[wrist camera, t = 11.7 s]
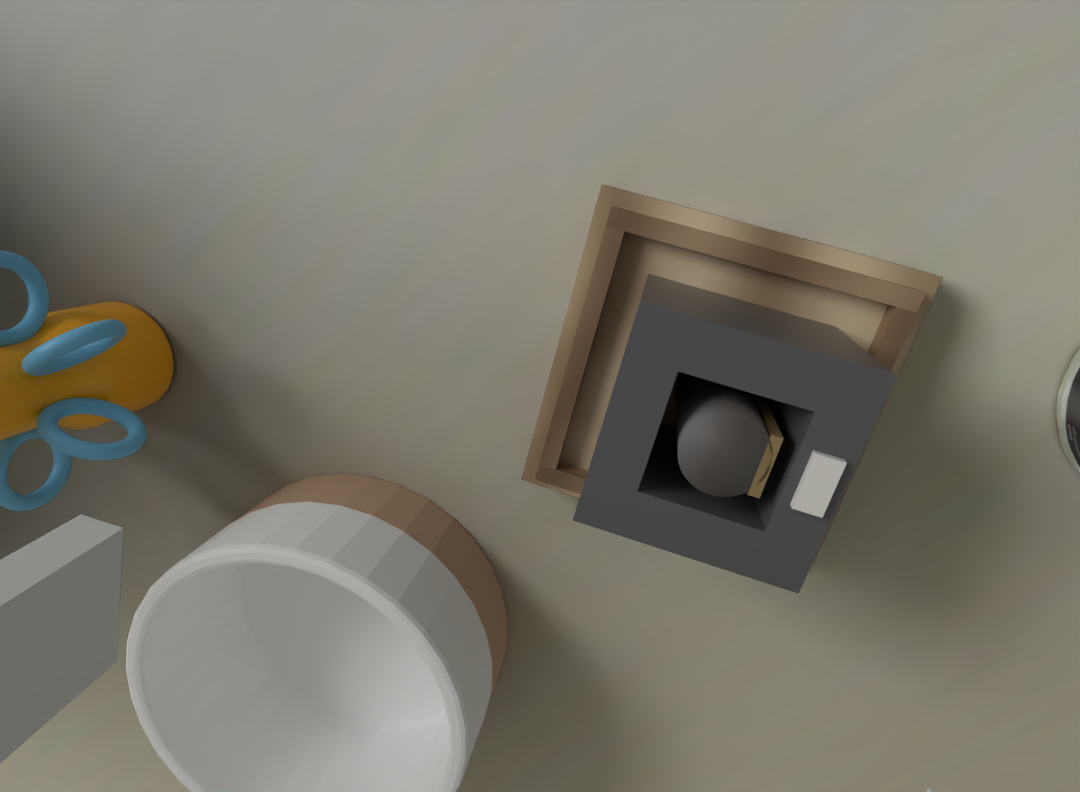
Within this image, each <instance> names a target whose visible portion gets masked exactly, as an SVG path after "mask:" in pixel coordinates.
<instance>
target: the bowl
mask: <svg viewBox="0 0 1080 792" xmlns="http://www.w3.org/2000/svg"><path fill="white" fill-rule="evenodd" d="M507 643H508V617H507V612H506V607H505V602H504V596H503V592H502V589H501V587H500V584H499V582H498V580H497V577H496V575H495V572H494V570H493V568H492V565H491V564H490V562H489V561H488V559H487V558H486V556H485V555H484V553H483V552H482V550H481V549H480V547H479V545H478V544H477V542H476V541H475V540H474V539H473V538H472V537H471V536H470V534H469V533H468V532H467V531H466V530H465V529H464V528H463V527H462V526H461V525H460V524H459V523H458V522H457V521H456V520H455V519H454V518H453V517H452V516H451V515H449V514H448V513H446V512H445V511H444V510H442V509H441V508H440V507H438V506H437V505H436V504H434V503H433V502H432V501H430V500H429V499H427V498H425V497H423V496H421V495H419V494H417V493H415V492H413V491H411V490H409V489H407V488H405V487H404V486H401V485H398V484H395V483H392V482H388V481H385V480H382V479H379V478H375V477H371V476H362V475H353V474H344V473H343V474H332V475H320V476H313V477H310V478H307V479H303V480H300V481H297V482H294V483H290V484H288V485H287V486H285V487H283V488H281V489H280V490H278V491H276V492H275V493H273V494H271V495H269V496H268V497H266V498H265V499H264V500H262V501H261V502H260V503H258V504H257V505H256V506H254V507H253V508H252V509H250V510H249V511H248V512H246V513H245V514H244V515H242V516H241V517H240V518H238V519H237V520H235V521H234V522H233V523H231V524H229V525H227V526H226V527H225V528H223V529H222V530H221V531H219V532H218V533H217V534H215V535H214V536H213V537H211V538H210V539H209V540H207V541H206V542H205V543H203V544H202V545H201V546H199V547H198V548H196V549H195V550H194V551H192V552H191V553H190V554H188V555H187V556H186V557H184V558H183V559H182V560H180V561H179V562H178V563H176V564H175V565H174V566H172V567H171V568H170V569H169V570H168V571H167V572H166V573H164V574H163V575H162V576H161V577H160V578H159V579H158V580H157V581H156V582H155V583H154V584H153V585H152V586H151V587H150V588H149V590H148V592H147V594H146V595H145V597H144V599H143V601H142V602H141V604H140V606H139V607H138V609H137V611H136V613H135V614H134V617H133V621H132V624H131V628H130V632H129V635H128V639H127V652H126V673H127V678H128V684H129V690H130V695H131V699H132V702H133V705H134V707H135V710H136V713H137V715H138V718H139V721H140V723H141V726H142V728H143V730H144V731H145V733H146V735H147V737H148V738H149V740H150V742H151V744H152V745H153V747H154V749H155V751H156V752H157V754H158V755H159V756H160V758H161V759H162V760H163V761H164V763H165V764H166V765H167V766H168V768H169V769H170V770H171V772H172V773H173V774H174V775H175V777H176V778H177V779H178V780H179V781H180V782H181V783H182V784H183V785H184V786H185V787H186V788H188V789H189V790H190V791H191V792H456V791H457V790H458V788H459V786H460V784H461V782H462V779H463V777H464V774H465V771H466V768H467V765H468V763H469V760H470V757H471V754H472V752H473V749H474V746H475V743H476V740H477V738H478V735H479V732H480V729H481V726H482V724H483V721H484V718H485V715H486V711H487V707H488V705H489V702H490V699H491V696H492V694H493V691H494V688H495V685H496V682H497V680H498V677H499V674H500V671H501V668H502V664H503V661H504V657H505V653H506V649H507Z"/></svg>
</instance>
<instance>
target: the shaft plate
mask: <svg viewBox="0 0 1080 792" xmlns="http://www.w3.org/2000/svg"><path fill="white" fill-rule="evenodd" d="M648 274H652V275H655V276H659V277H662V278H666V279H669V280H673V281H676V282H680V283H683V284H687V285H690V286H694V287H697V288H701V289H705V290H708V291H712V292H715V293H719V294H722V295H726V296H729V297H733V298H736V299H740V300H743V301H747V302H750V303H754V304H758V305H761V306H765V307H768V308H772V309H775V310H779V311H782V312H786V313H789V314H793V315H796V316H800V317H803V318H807V319H811V320H814V321H818V322H821V323H825V324H828V325H832V326H835V327H837V328H838V329H839V330H841V331H842V332H843V333H844V334H846V335H847V336H848V337H849V338H851V339H852V340H853V341H854V342H856V343H857V344H858V345H859V346H861V347H862V348H863V349H864V350H866V351H867V352H868V353H869V354H871V355H872V356H873V357H874V358H876V359H877V360H878V361H879V362H881V363H882V364H883V365H885V366H886V367H887V368H888V369H890V370H891V371H892V372H893V373H895V374H896V375H897V376H896V379H897V377H898V375H899V373H900V370H901V368H902V366H903V364H904V362H905V359H906V357H907V355H908V353H909V351H910V348H911V346H912V344H913V342H914V339H915V337H916V335H917V333H918V331H919V328H920V326H921V324H922V322H923V320H924V317H925V315H926V313H927V311H928V308H929V306H930V304H931V302H932V300H933V297H934V295H935V293H936V291H937V289H938V286H939V284H940V282H941V280H942V278H943V277H941V276H937V275H934V274H931V273H927V272H924V271H920V270H917V269H913V268H909V267H905V266H902V265H898V264H894V263H891V262H887V261H883V260H880V259H876V258H872V257H869V256H865V255H861V254H858V253H854V252H850V251H846V250H843V249H839V248H835V247H832V246H828V245H824V244H821V243H817V242H813V241H810V240H806V239H802V238H798V237H795V236H791V235H787V234H784V233H780V232H776V231H773V230H769V229H765V228H762V227H758V226H754V225H751V224H747V223H743V222H739V221H736V220H732V219H728V218H725V217H721V216H717V215H714V214H710V213H706V212H703V211H699V210H695V209H691V208H688V207H684V206H680V205H677V204H673V203H669V202H666V201H662V200H658V199H655V198H651V197H647V196H644V195H640V194H636V193H632V192H629V191H625V190H621V189H618V188H614V187H610V186H607V185H601V189H600V193H599V196H598V200H597V204H596V208H595V211H594V215H593V219H592V222H591V226H590V230H589V233H588V237H587V241H586V244H585V248H584V252H583V255H582V259H581V263H580V266H579V270H578V274H577V277H576V281H575V285H574V288H573V292H572V296H571V299H570V303H569V307H568V310H567V314H566V318H565V321H564V325H563V329H562V332H561V336H560V340H559V343H558V347H557V351H556V355H555V358H554V362H553V366H552V369H551V373H550V377H549V380H548V384H547V388H546V391H545V395H544V399H543V402H542V406H541V410H540V413H539V417H538V421H537V424H536V428H535V432H534V435H533V439H532V443H531V446H530V450H529V454H528V457H527V461H526V465H525V468H524V472H523V476H522V479H521V480H524V481H527V482H531V483H534V484H537V485H540V486H543V487H546V488H549V489H552V490H556V491H559V492H562V493H565V494H568V495H571V496H574V497H577V498H580V495H581V492H582V489H583V485H584V482H585V479H586V476H587V472H588V469H589V466H590V462H591V459H592V456H593V453H594V449H595V446H596V443H597V439H598V436H599V433H600V430H601V426H602V423H603V420H604V417H605V413H606V410H607V407H608V404H609V400H610V397H611V394H612V391H613V387H614V384H615V381H616V378H617V374H618V371H619V368H620V365H621V361H622V358H623V355H624V352H625V348H626V345H627V342H628V339H629V335H630V332H631V329H632V325H633V322H634V319H635V316H636V312H637V309H638V306H639V303H640V299H641V296H642V293H643V290H644V286H645V283H646V280H647V277H648ZM896 379H895V381H896ZM895 381H894V383H893V385H892V387H891V390H892V388H893V386H894V384H895ZM891 390H890V392H889V394H888V396H887V399H888V397H889V395H890V393H891ZM887 399H886V401H887ZM886 401H885V403H884V405H883V407H882V410H883V408H884V406H885V404H886ZM882 410H881V412H882ZM881 412H880V414H879V416H878V418H877V421H878V419H879V417H880V415H881ZM877 421H876V423H877ZM661 423H664V424H667V425H671V426H674V427H677V447H678V462H679V466H680V469H681V471H682V473H683V475H684V476H685V478H686V479H687V480H688V481H689V483H691V484H692V485H693V486H694V487H695V488H697V489H698V490H700V491H702V492H704V493H706V494H709V495H713V496H718V497H732V496H737V495H741V494H744V493H746V492H747V495H750V496H753V497H756V498H759V499H760V496H761V494H762V491H763V489H764V486H765V484H766V481H767V479H768V476H769V474H770V471H771V469H772V467H773V464H774V462H775V459H776V457H777V454H778V452H779V449H780V447H781V444H782V442H783V439H784V438H783V436H782V434H781V432H780V429H779V427H778V425H777V423H776V421H775V419H774V416H773V414H772V412H771V410H770V408H769V406H768V404H767V401H766V399H765V397H763V396H759V395H756V394H753V393H749V392H746V391H742V390H739V389H736V388H732V387H729V386H726V385H722V384H719V383H715V382H712V381H709V380H705V379H702V378H699V377H695V376H692V375H688V374H685V373H682V372H678V373H677V376H676V379H675V382H674V385H673V388H672V391H671V394H670V397H669V400H668V403H667V405H666V408H665V411H664V414H663V417H662V420H661ZM876 423H875V425H874V427H873V430H874V428H875V426H876ZM873 430H872V432H873ZM872 432H871V434H870V436H869V438H868V441H869V439H870V437H871V435H872ZM868 441H867V443H868ZM867 443H866V445H865V447H864V449H863V452H864V450H865V448H866V446H867ZM863 452H862V454H863ZM862 454H861V456H860V458H859V460H858V463H859V461H860V459H861V457H862ZM858 463H857V465H858ZM857 465H856V467H855V469H854V472H855V470H856V468H857ZM854 472H853V474H854ZM853 474H852V476H851V478H850V480H849V483H850V481H851V479H852V477H853ZM849 483H848V485H849ZM848 485H847V487H846V489H845V491H844V494H845V492H846V490H847V488H848ZM844 494H843V496H844ZM843 496H842V498H841V500H840V503H841V501H842V499H843ZM840 503H839V505H840ZM839 505H838V507H839ZM838 507H837V509H836V511H835V514H836V512H837V510H838ZM835 514H834V516H835ZM834 516H833V518H832V520H831V522H830V525H831V523H832V521H833V519H834ZM830 525H829V527H830ZM829 527H828V529H827V531H826V533H825V536H826V534H827V532H828V530H829ZM825 536H824V538H825ZM824 538H823V540H822V542H821V545H822V543H823V541H824ZM821 545H820V547H821ZM820 547H819V549H820ZM819 549H818V551H817V553H816V556H817V554H818V552H819ZM816 556H815V558H816ZM815 558H814V560H813V562H812V564H811V567H812V565H813V563H814V561H815ZM811 567H810V569H811ZM810 569H809V571H808V572H810Z"/></svg>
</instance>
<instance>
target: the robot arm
mask: <svg viewBox="0 0 1080 792" xmlns="http://www.w3.org/2000/svg"><path fill="white" fill-rule="evenodd" d="M122 543H123V528H122V527H119V526H115V525H112V524H109V523H106V522H103V521H100V520H97V519H94V518H91V517H88V516H84V515H79V516H77V517H75V518H74V519H72V520H70V521H68V522H66V523H65V524H63V525H61V526H59V527H58V528H56V529H54V530H52V531H50V532H49V533H47V534H45V535H43V536H42V537H40V538H38V539H36V540H35V541H33V542H31V543H29V544H27V545H26V546H24V547H22V548H20V549H19V550H17V551H15V552H13V553H11V554H10V555H8V556H6V557H4V558H3V559H1V560H0V763H1V762H2V761H3V760H5V759H6V758H7V757H8V756H9V755H10V754H11V753H13V752H14V751H15V750H16V749H17V748H18V747H19V746H21V745H22V744H23V743H24V742H25V741H26V740H27V739H29V738H30V737H31V736H32V735H33V734H34V733H35V732H37V731H38V730H39V729H40V728H41V727H42V726H43V725H45V724H46V723H47V722H48V721H49V720H50V719H51V718H53V717H54V716H55V715H56V714H57V713H58V712H59V711H61V710H62V709H63V708H64V707H65V706H66V705H67V704H69V703H70V702H71V701H72V700H73V699H74V698H75V697H77V696H78V695H79V694H80V693H81V692H82V691H83V690H85V689H86V688H87V687H88V686H89V685H90V684H91V683H93V682H94V681H95V680H96V679H97V678H98V677H99V676H101V675H102V674H103V673H104V672H105V671H106V670H107V669H109V668H110V667H111V666H112V665H113V664H114V663H115V662H117V650H118V628H119V607H120V586H121V564H122ZM926 792H939V791H936V790H933V789H930V788H928V789H927V791H926Z"/></svg>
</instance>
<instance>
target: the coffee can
mask: <svg viewBox="0 0 1080 792" xmlns="http://www.w3.org/2000/svg"><path fill="white" fill-rule="evenodd" d="M1056 425H1057V431H1058V436H1059V441H1060V444H1061V446H1062V449H1063V451H1064V453H1065V455H1066V457H1067V458H1068V460H1069V462H1070V463H1071V465H1072V466H1073V467H1074V469H1075V470H1076V471H1077V472H1078V473H1079V474H1080V348H1079V349H1078V351H1077V352H1076V353H1075V355H1074V356H1073V358H1072V360H1071V362H1070V364H1069V367H1068V369H1067V370H1066V372H1065V374H1064V376H1063V379H1062V382H1061V385H1060V389H1059V392H1058V396H1057V404H1056Z"/></svg>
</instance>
